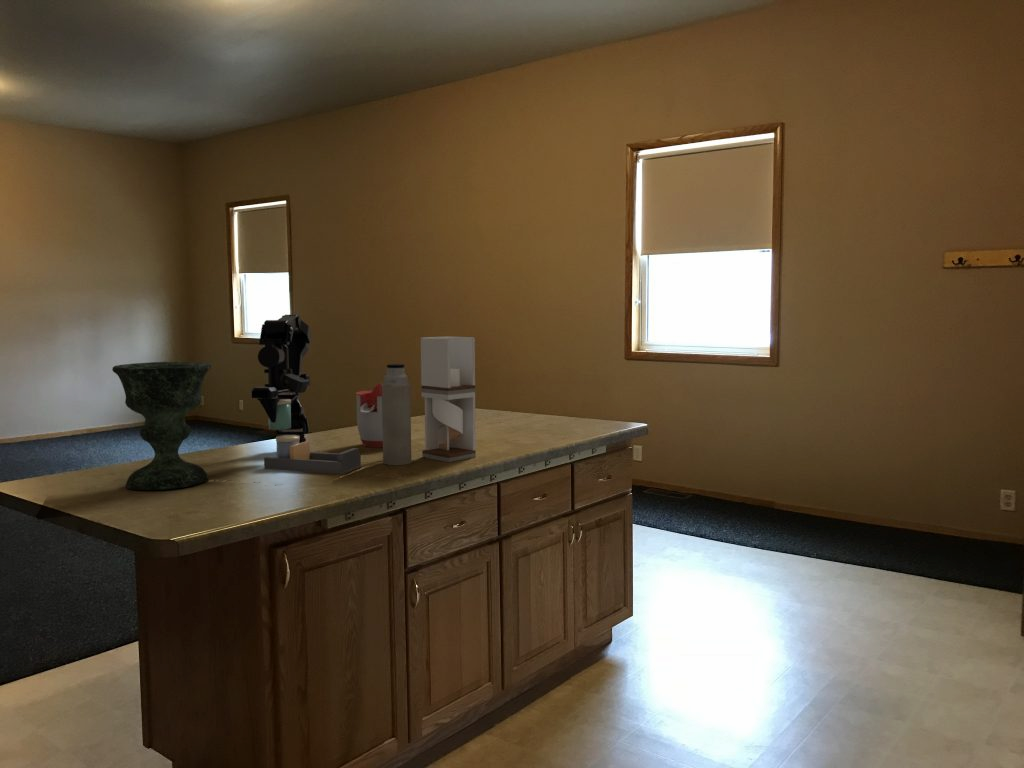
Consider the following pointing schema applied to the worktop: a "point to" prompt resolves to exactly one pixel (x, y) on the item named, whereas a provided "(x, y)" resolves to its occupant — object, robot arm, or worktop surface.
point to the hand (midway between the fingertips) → (279, 420)
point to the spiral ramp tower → (448, 397)
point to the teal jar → (282, 415)
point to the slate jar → (286, 445)
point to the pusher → (300, 451)
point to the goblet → (164, 419)
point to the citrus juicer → (370, 416)
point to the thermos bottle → (396, 416)
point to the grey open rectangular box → (318, 462)
